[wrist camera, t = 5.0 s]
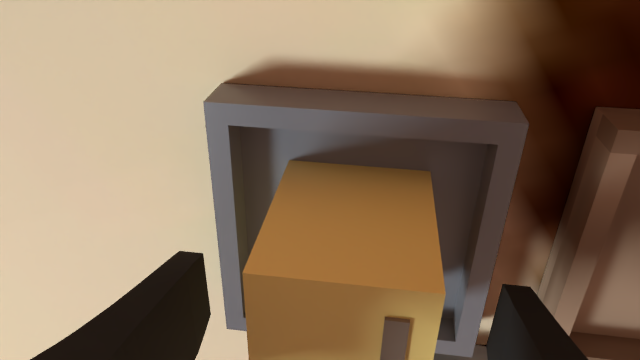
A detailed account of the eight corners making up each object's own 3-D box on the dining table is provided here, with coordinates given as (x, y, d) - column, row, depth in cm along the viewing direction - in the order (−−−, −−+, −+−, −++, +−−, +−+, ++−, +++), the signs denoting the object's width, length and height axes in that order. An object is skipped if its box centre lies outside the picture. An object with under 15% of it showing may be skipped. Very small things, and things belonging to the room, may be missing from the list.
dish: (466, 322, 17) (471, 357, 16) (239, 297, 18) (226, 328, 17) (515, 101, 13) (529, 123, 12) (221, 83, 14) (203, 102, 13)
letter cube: (414, 281, 16) (421, 429, 11) (290, 268, 16) (251, 405, 12) (430, 171, 14) (446, 297, 9) (289, 160, 14) (240, 275, 10)
